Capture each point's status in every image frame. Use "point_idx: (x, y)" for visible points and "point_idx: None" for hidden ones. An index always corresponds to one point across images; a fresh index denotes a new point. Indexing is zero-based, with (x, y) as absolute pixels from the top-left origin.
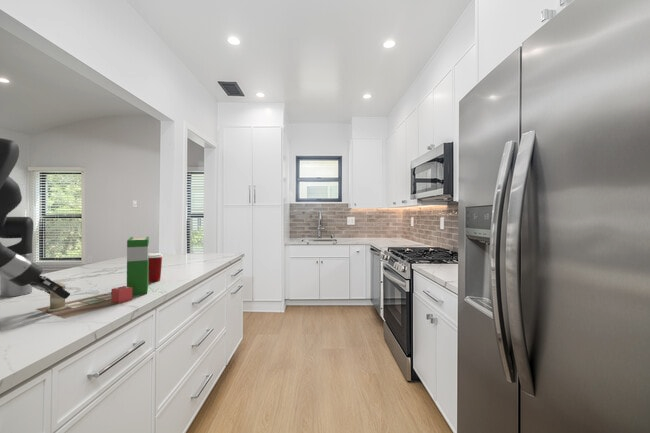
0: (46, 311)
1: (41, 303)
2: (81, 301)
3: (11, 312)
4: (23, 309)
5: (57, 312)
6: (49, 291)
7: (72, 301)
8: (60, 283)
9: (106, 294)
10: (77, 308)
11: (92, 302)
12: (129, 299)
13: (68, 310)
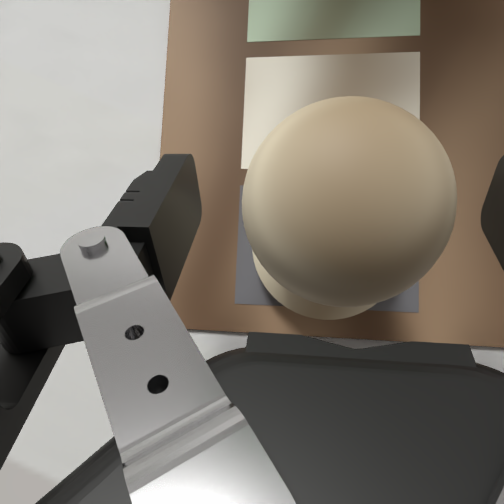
0: (314, 321)
1: (7, 220)
2: (260, 41)
3: (65, 446)
4: (60, 365)
5: (439, 296)
6: (178, 244)
7: (188, 79)
8: (417, 158)
9: None
10: (470, 157)
11: (390, 8)
12: None
13: (462, 223)
